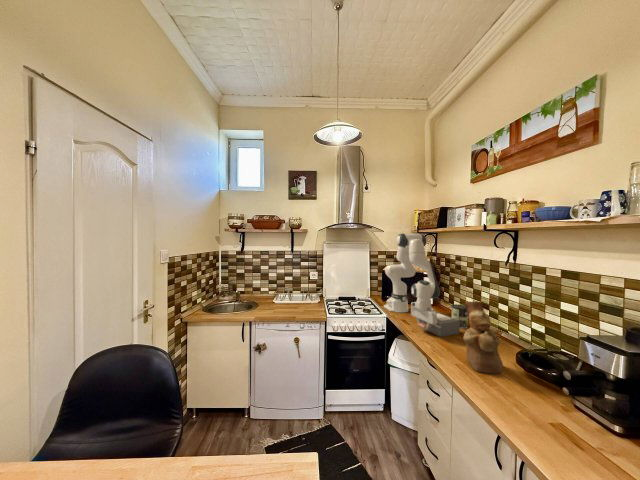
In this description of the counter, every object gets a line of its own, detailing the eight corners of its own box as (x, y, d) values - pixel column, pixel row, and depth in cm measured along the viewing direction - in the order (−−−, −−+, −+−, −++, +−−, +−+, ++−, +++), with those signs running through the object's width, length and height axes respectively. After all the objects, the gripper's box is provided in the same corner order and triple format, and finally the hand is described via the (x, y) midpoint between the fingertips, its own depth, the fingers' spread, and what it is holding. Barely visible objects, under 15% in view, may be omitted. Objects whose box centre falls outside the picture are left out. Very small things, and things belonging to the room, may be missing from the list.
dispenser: (417, 326, 174) (418, 314, 174) (436, 323, 180) (436, 311, 180) (439, 337, 156) (439, 323, 156) (459, 333, 162) (459, 320, 162)
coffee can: (468, 325, 177) (469, 306, 177) (466, 329, 169) (467, 309, 169) (452, 322, 183) (452, 303, 183) (449, 326, 175) (450, 306, 175)
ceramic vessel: (473, 373, 115) (474, 309, 114) (454, 351, 137) (455, 297, 136) (510, 376, 113) (512, 311, 112) (485, 354, 134) (486, 299, 134)
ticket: (417, 325, 166) (417, 323, 166) (441, 321, 173) (441, 320, 173) (423, 328, 161) (423, 326, 161) (447, 324, 167) (447, 322, 167)
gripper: (440, 309, 155) (439, 331, 155) (416, 301, 174) (416, 321, 174) (432, 310, 153) (431, 333, 153) (409, 302, 172) (409, 321, 172)
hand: (423, 326), depth 164 cm, fingers closed on ticket, 5 cm apart
